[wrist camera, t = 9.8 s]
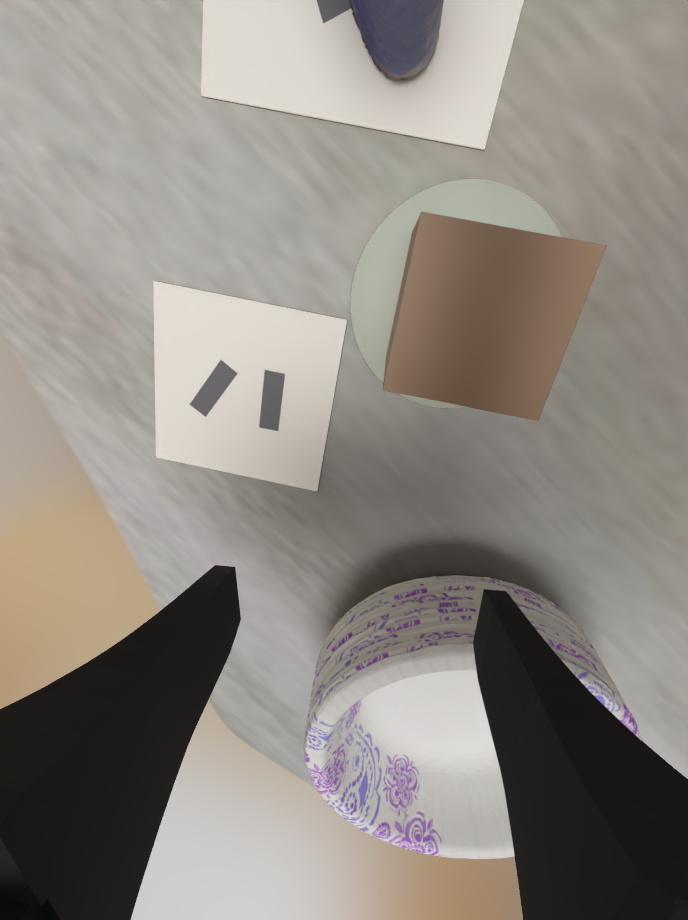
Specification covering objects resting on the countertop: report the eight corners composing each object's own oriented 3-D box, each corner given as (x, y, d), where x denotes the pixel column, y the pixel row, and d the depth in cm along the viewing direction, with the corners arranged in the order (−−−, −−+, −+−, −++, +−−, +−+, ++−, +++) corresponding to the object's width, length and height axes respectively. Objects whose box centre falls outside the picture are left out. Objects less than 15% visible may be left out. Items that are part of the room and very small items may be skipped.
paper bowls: (631, 643, 25) (729, 796, 18) (442, 747, 30) (457, 895, 23) (450, 485, 22) (478, 590, 15) (278, 633, 28) (237, 761, 20)
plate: (603, 205, 16) (610, 203, 16) (520, 421, 20) (524, 426, 19) (374, 161, 16) (374, 157, 16) (336, 383, 20) (334, 387, 20)
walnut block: (536, 253, 17) (606, 245, 11) (496, 377, 19) (538, 420, 13) (412, 231, 17) (421, 211, 11) (386, 355, 19) (382, 390, 13)
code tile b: (347, 319, 19) (347, 320, 19) (317, 490, 23) (317, 491, 23) (154, 280, 19) (152, 280, 19) (157, 456, 23) (156, 457, 23)
